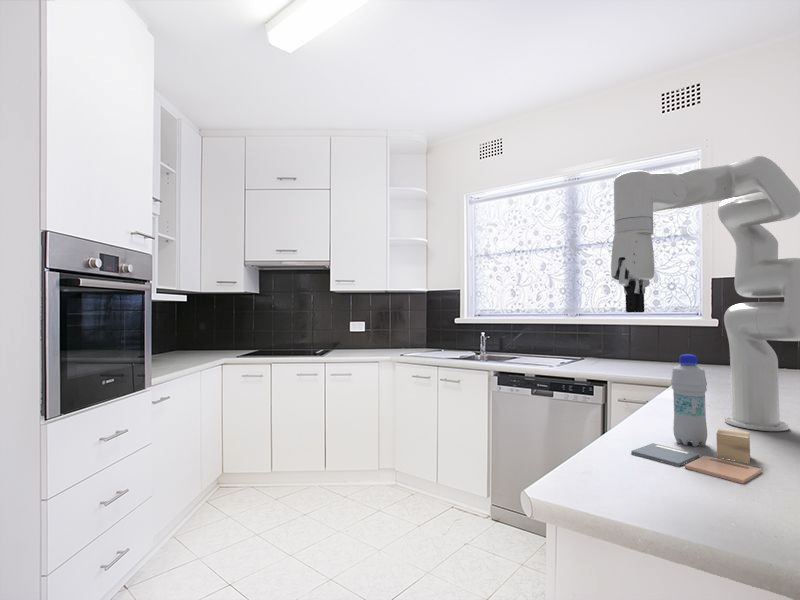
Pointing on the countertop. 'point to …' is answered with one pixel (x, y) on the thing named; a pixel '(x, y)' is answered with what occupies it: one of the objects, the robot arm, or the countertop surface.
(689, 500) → the countertop surface
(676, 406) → the bottle
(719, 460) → the terracotta tile
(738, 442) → the oak block
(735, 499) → the countertop surface
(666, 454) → the slate mat
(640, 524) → the countertop surface
